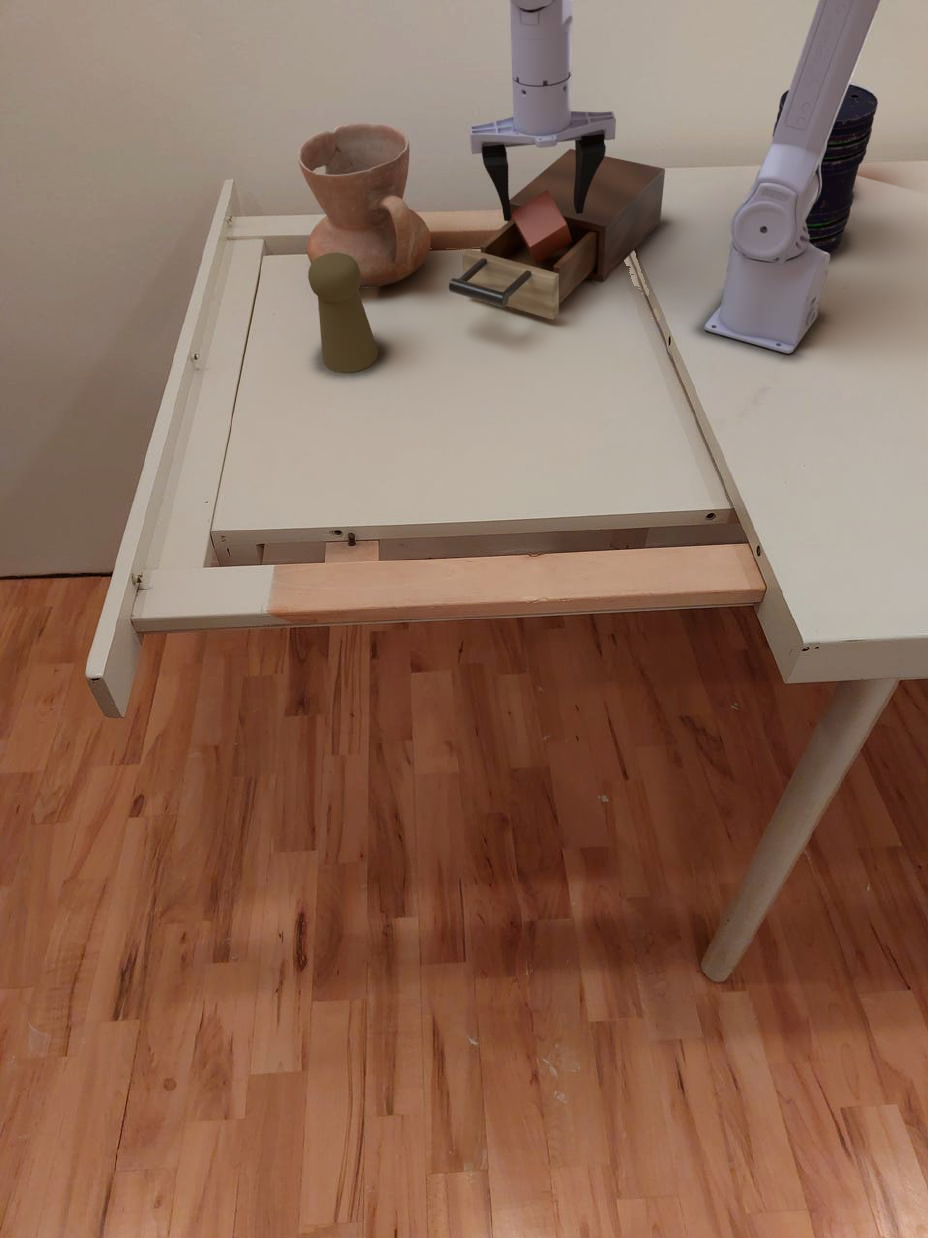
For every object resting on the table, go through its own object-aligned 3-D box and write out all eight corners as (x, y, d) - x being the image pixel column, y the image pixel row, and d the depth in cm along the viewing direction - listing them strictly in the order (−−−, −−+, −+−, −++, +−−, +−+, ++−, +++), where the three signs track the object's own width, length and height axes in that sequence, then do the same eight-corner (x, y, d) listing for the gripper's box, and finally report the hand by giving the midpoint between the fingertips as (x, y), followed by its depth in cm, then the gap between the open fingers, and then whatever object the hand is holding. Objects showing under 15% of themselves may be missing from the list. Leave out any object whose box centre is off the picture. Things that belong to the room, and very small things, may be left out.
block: (572, 241, 99) (567, 223, 94) (536, 264, 100) (529, 247, 95) (553, 208, 99) (547, 188, 95) (518, 230, 100) (510, 212, 96)
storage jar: (774, 267, 101) (803, 127, 90) (740, 225, 107) (763, 90, 96) (858, 251, 102) (897, 111, 90) (819, 211, 108) (851, 75, 97)
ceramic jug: (288, 260, 110) (259, 139, 99) (390, 221, 114) (374, 101, 103) (357, 326, 100) (333, 200, 89) (466, 281, 104) (457, 155, 93)
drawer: (523, 350, 93) (522, 303, 89) (433, 321, 98) (428, 276, 94) (612, 259, 103) (615, 213, 99) (527, 237, 108) (526, 192, 103)
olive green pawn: (370, 374, 94) (352, 278, 86) (315, 370, 95) (292, 275, 87) (384, 340, 98) (369, 244, 89) (331, 337, 99) (311, 242, 90)
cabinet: (603, 282, 102) (606, 226, 97) (508, 256, 107) (506, 201, 102) (660, 223, 109) (665, 168, 104) (569, 201, 114) (570, 148, 109)
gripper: (469, 99, 84) (478, 238, 94) (624, 82, 84) (616, 224, 94) (464, 69, 88) (473, 205, 99) (611, 54, 88) (605, 192, 99)
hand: (542, 212), depth 97 cm, fingers open, 7 cm apart
